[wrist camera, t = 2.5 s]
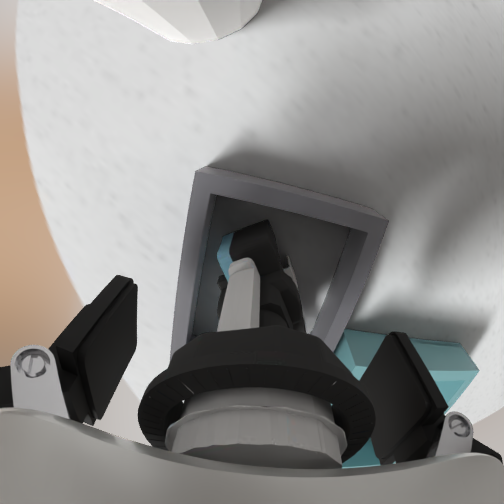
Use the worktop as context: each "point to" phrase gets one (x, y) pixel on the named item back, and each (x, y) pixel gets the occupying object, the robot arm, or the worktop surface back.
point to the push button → (258, 376)
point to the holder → (289, 199)
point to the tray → (434, 357)
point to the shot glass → (188, 17)
